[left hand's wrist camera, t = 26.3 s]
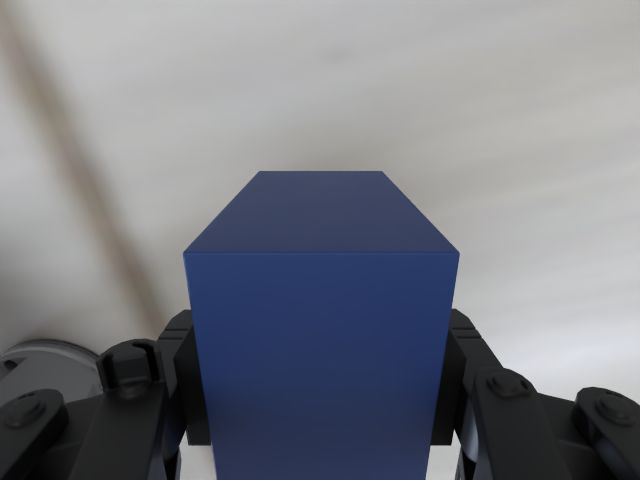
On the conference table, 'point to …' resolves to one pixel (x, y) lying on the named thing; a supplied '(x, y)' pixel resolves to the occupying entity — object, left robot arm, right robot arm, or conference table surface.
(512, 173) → the conference table surface
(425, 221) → the block
